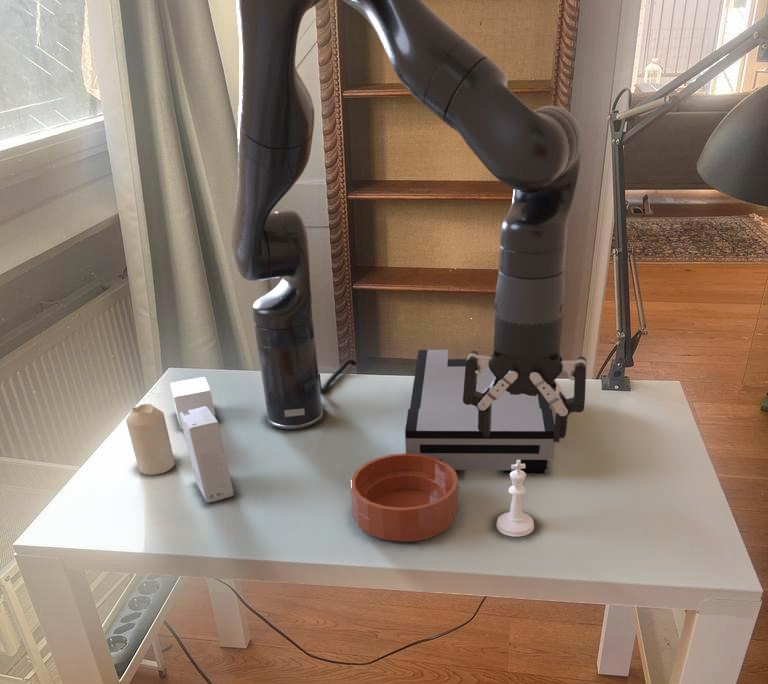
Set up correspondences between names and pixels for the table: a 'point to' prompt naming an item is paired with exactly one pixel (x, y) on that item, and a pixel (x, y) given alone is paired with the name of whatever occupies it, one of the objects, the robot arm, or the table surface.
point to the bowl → (405, 497)
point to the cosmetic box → (207, 453)
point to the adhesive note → (191, 395)
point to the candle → (150, 439)
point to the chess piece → (516, 507)
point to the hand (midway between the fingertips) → (521, 436)
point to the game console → (475, 421)
